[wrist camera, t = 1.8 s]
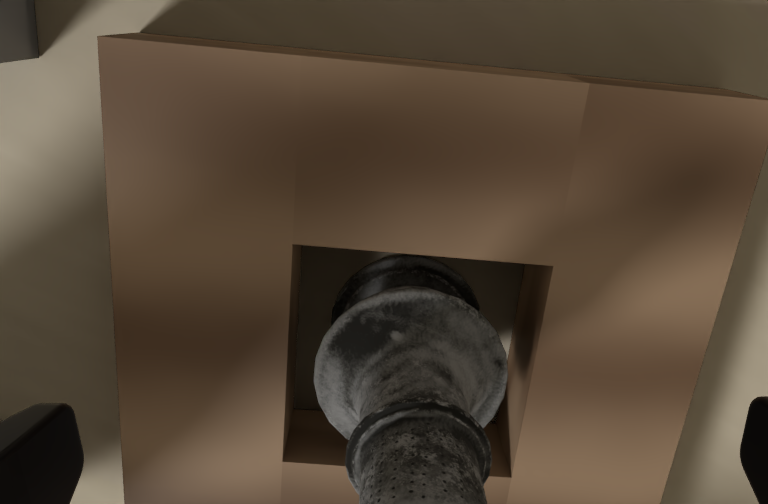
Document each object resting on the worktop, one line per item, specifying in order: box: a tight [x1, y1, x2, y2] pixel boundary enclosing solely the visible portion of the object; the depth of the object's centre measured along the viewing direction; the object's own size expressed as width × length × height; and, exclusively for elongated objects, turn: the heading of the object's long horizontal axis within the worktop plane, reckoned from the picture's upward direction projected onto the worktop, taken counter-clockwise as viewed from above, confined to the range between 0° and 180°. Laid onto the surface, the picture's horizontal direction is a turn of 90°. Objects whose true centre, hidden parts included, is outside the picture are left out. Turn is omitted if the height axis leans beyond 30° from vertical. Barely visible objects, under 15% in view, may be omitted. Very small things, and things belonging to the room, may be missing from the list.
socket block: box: [97, 33, 768, 504], centre depth 21 cm, size 18×18×3 cm
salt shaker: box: [314, 255, 508, 504], centre depth 17 cm, size 6×6×12 cm
